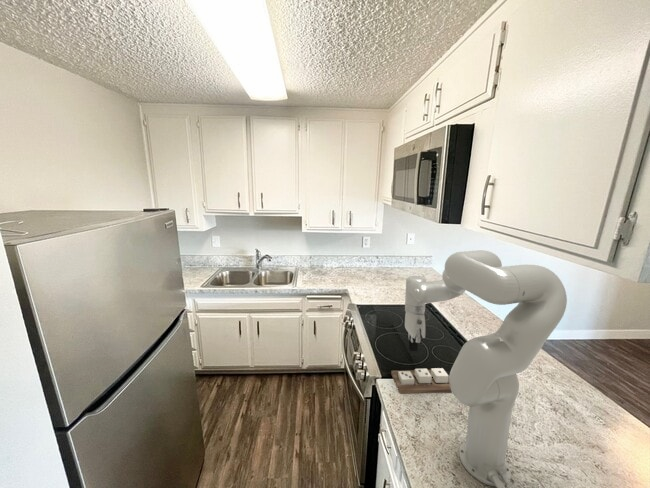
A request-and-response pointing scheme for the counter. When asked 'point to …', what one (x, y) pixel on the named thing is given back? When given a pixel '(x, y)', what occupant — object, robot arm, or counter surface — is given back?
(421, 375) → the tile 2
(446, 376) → the keypad button
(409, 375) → the white square block
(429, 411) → the counter surface
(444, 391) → the keypad board
